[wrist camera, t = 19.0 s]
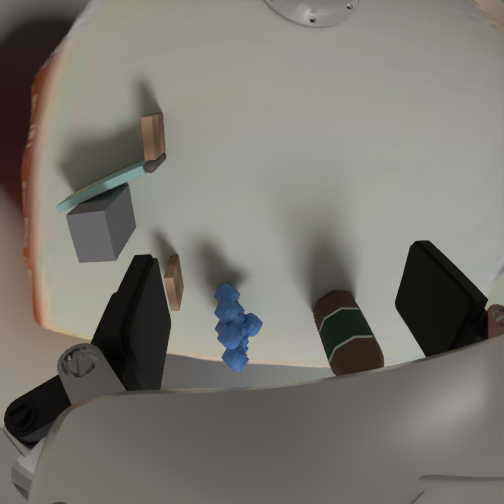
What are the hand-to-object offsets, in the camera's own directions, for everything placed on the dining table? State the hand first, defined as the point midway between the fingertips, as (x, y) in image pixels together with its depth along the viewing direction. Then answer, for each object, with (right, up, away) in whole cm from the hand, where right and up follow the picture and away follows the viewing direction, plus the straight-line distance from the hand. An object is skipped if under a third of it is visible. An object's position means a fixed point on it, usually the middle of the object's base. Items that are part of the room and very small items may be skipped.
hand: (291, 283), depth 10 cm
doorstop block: (-20, +7, +27) cm, 34 cm away
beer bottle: (+12, -8, +38) cm, 41 cm away
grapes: (-4, -6, +36) cm, 37 cm away
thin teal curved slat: (-20, +11, +25) cm, 33 cm away
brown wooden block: (-12, +6, +28) cm, 31 cm away
